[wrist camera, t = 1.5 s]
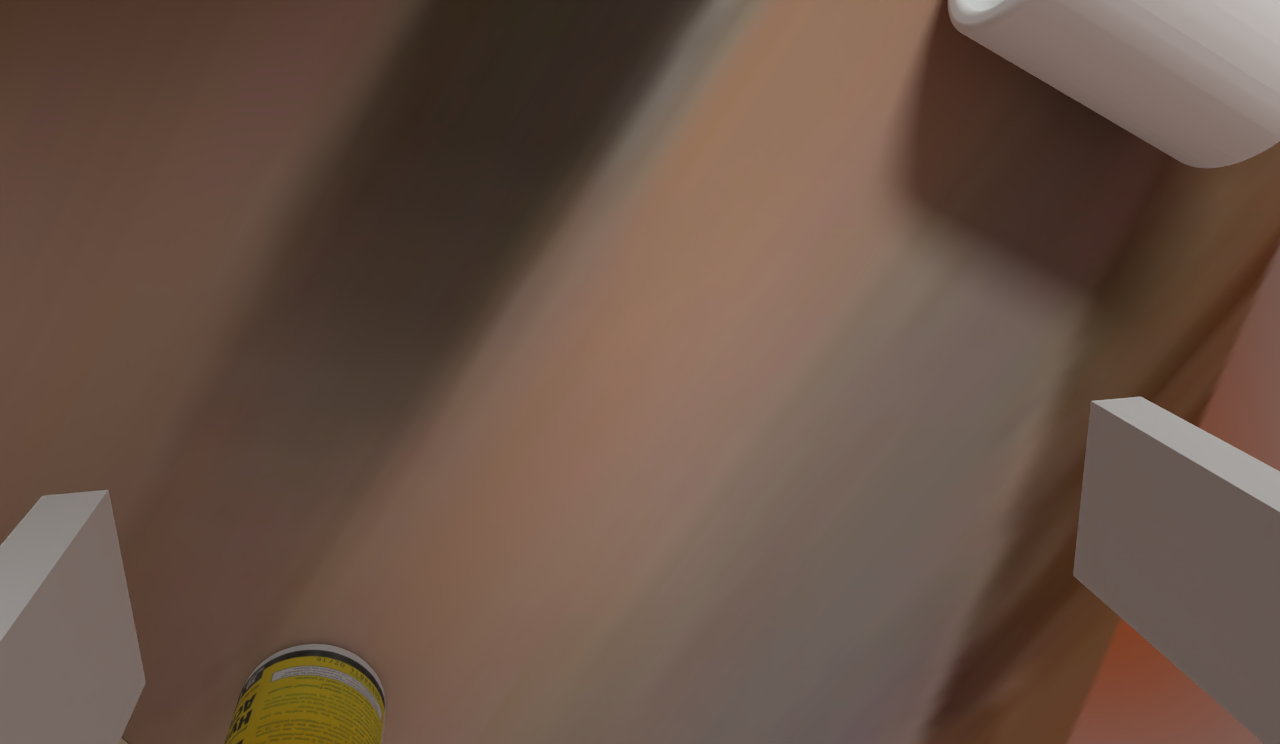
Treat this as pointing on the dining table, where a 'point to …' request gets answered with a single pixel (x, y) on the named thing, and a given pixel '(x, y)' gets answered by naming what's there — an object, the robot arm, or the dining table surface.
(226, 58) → the dining table surface
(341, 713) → the supplement bottle
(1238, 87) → the mug
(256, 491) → the dining table surface
